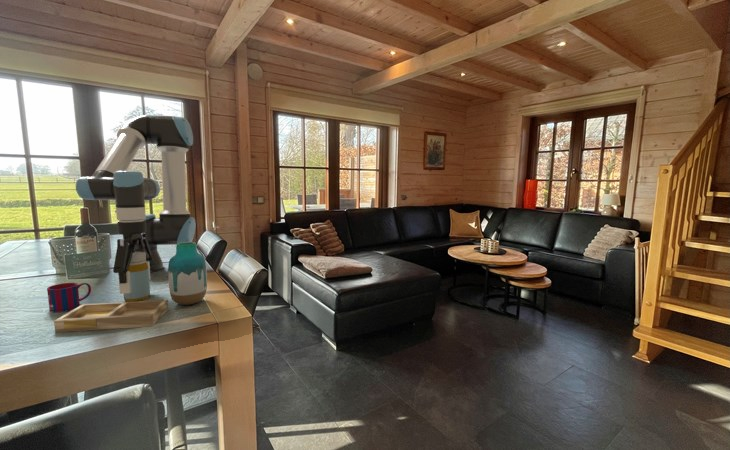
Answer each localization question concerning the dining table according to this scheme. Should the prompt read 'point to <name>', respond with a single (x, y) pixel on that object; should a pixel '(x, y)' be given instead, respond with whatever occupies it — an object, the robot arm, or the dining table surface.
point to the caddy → (112, 316)
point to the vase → (187, 274)
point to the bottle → (138, 278)
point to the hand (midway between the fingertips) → (136, 286)
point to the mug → (65, 296)
